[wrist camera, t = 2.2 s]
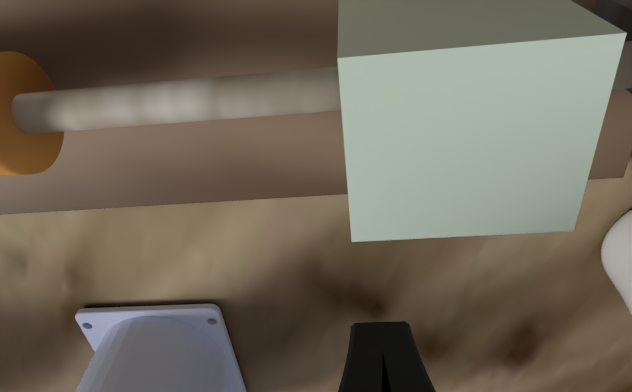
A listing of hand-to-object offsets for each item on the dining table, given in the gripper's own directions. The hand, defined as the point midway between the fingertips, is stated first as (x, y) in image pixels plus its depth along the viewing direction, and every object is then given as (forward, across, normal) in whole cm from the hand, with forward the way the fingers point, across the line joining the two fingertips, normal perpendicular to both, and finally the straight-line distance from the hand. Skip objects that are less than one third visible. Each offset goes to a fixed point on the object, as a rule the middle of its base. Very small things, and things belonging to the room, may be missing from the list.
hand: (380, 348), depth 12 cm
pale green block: (+7, -2, -5) cm, 9 cm away
